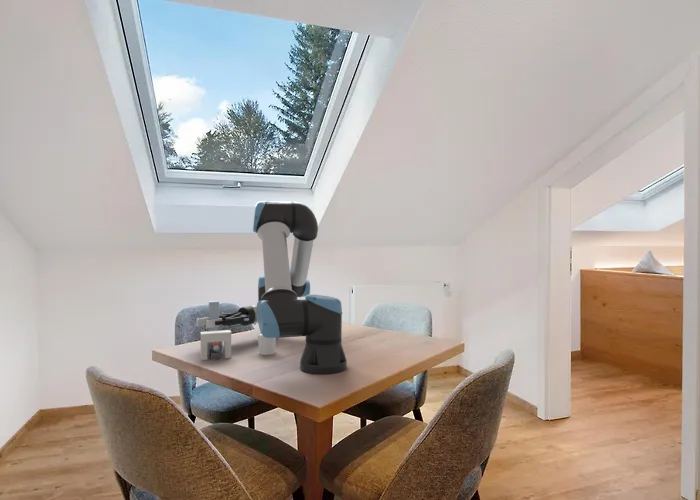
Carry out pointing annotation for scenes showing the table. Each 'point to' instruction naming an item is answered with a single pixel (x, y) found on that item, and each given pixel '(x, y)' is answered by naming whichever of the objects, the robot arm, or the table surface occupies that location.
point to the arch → (216, 337)
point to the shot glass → (266, 345)
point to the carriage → (212, 315)
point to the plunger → (215, 346)
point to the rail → (215, 354)
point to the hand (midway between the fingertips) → (202, 323)
